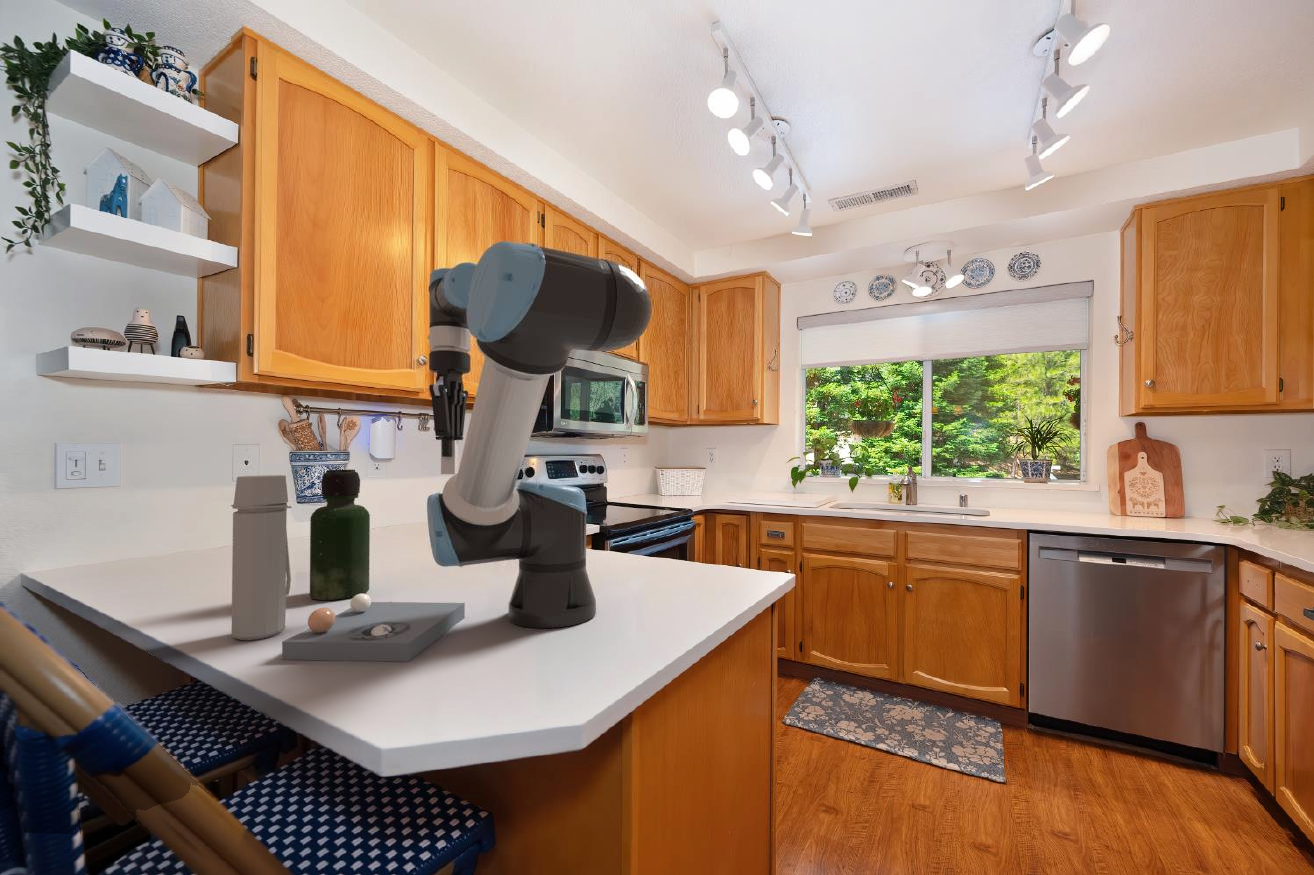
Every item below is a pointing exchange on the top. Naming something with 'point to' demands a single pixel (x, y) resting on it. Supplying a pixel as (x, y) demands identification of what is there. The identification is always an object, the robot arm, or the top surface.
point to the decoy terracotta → (321, 620)
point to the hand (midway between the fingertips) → (449, 473)
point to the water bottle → (260, 557)
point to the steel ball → (380, 630)
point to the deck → (353, 643)
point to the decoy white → (360, 603)
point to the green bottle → (339, 540)
